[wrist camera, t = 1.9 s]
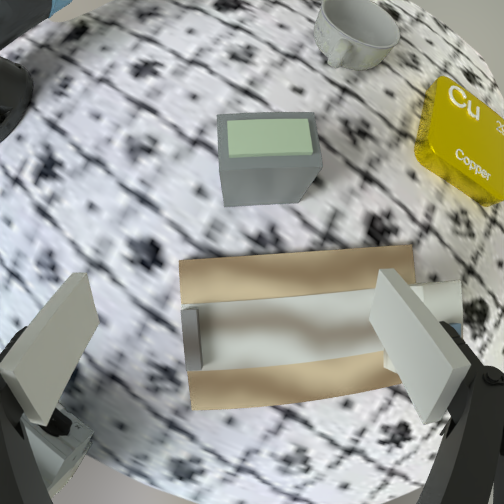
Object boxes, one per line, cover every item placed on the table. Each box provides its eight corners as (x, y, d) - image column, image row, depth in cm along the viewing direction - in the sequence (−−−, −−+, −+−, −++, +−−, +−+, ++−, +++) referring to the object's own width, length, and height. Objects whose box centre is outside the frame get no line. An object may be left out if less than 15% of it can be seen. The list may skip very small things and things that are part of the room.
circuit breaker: (112, 410, 32) (50, 467, 17) (72, 477, 30) (19, 534, 15) (63, 370, 32) (-16, 403, 17) (29, 442, 30) (-34, 485, 15)
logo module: (222, 164, 35) (216, 110, 24) (292, 161, 36) (315, 108, 24) (224, 207, 35) (218, 167, 23) (297, 203, 35) (324, 163, 24)
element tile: (409, 160, 37) (428, 146, 32) (426, 84, 39) (440, 68, 34) (488, 212, 37) (509, 205, 32) (496, 134, 39) (513, 123, 34)
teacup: (335, 19, 39) (348, -16, 31) (392, 59, 39) (413, 26, 31) (280, 59, 38) (288, 18, 30) (346, 106, 37) (366, 70, 29)
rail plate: (180, 261, 34) (154, 247, 23) (407, 245, 35) (464, 228, 24) (193, 407, 32) (175, 453, 21) (414, 377, 34) (469, 401, 22)
